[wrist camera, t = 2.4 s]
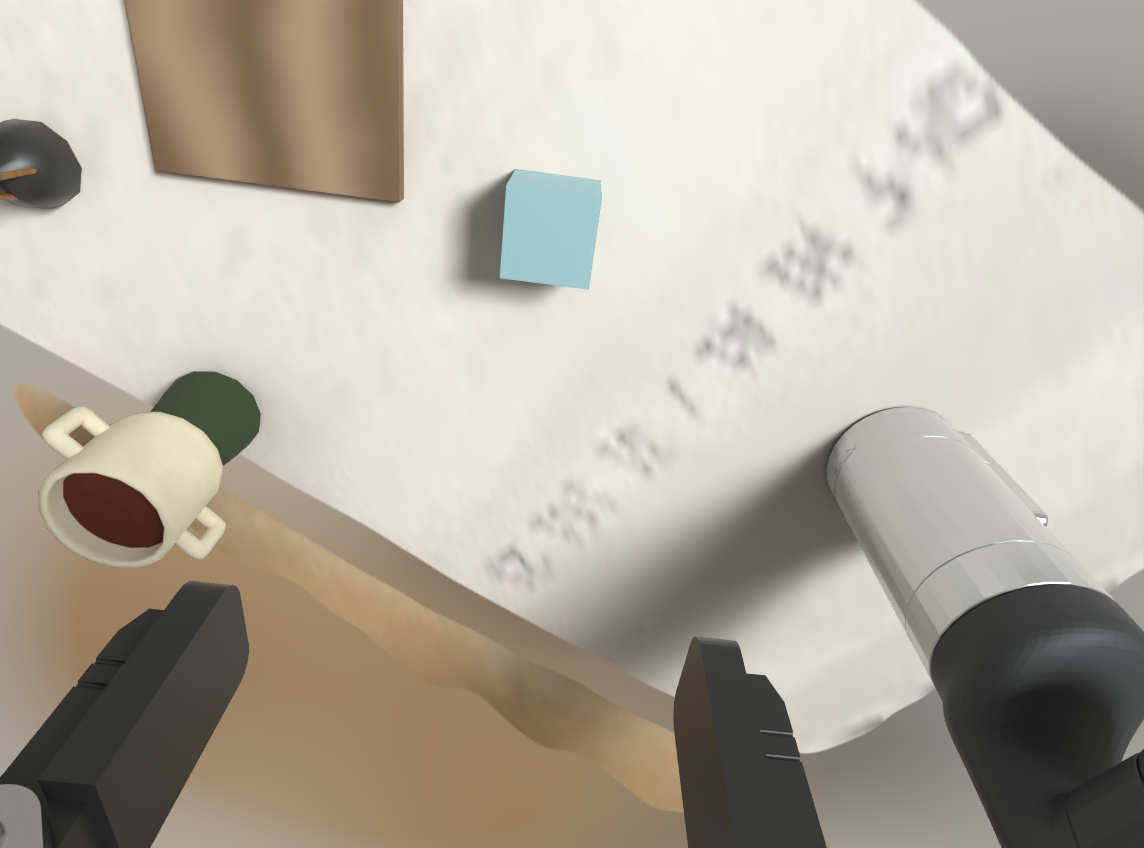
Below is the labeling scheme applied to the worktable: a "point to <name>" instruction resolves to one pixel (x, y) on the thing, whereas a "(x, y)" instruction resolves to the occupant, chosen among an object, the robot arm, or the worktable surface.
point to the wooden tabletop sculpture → (36, 165)
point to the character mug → (147, 473)
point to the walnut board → (275, 91)
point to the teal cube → (550, 228)
